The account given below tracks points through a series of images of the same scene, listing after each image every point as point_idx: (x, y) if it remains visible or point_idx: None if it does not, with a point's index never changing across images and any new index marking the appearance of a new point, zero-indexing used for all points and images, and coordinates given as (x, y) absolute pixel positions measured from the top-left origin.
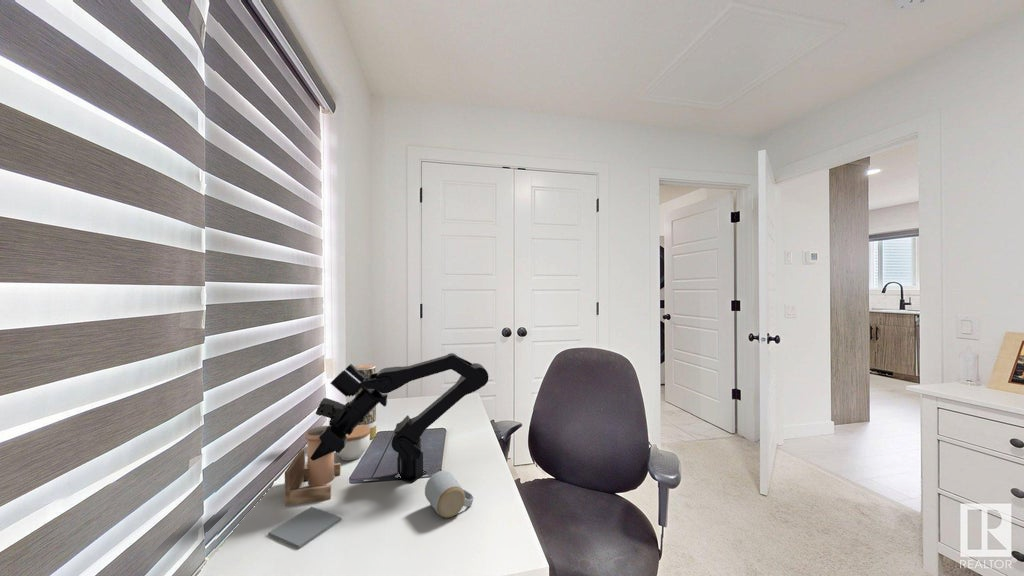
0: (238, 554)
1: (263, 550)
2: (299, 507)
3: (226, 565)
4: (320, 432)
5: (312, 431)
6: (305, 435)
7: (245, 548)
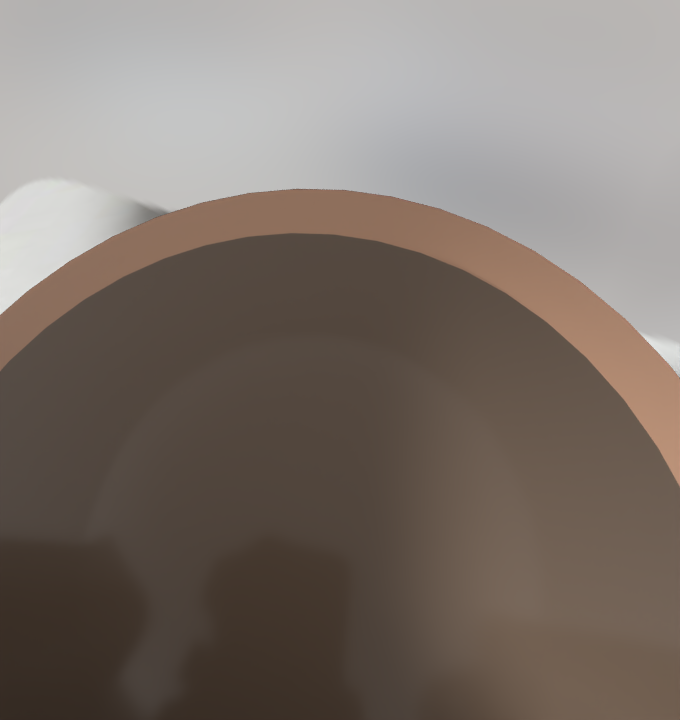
0: (36, 225)
1: (4, 286)
2: None
3: (5, 206)
4: (37, 601)
5: (290, 350)
6: (198, 216)
7: (54, 237)
